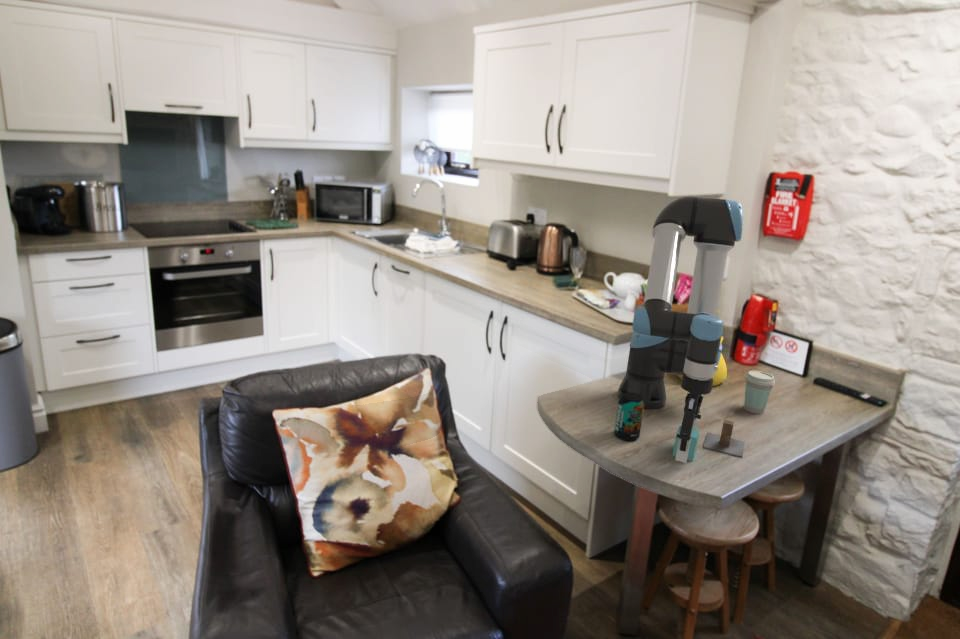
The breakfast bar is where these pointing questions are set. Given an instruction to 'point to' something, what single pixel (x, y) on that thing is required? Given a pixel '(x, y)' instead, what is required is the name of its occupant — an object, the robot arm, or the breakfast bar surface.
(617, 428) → the beverage can
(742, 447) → the grey square base stand
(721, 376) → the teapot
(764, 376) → the coffee cup
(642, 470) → the breakfast bar surface
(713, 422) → the breakfast bar surface
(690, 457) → the teal rectangular block
